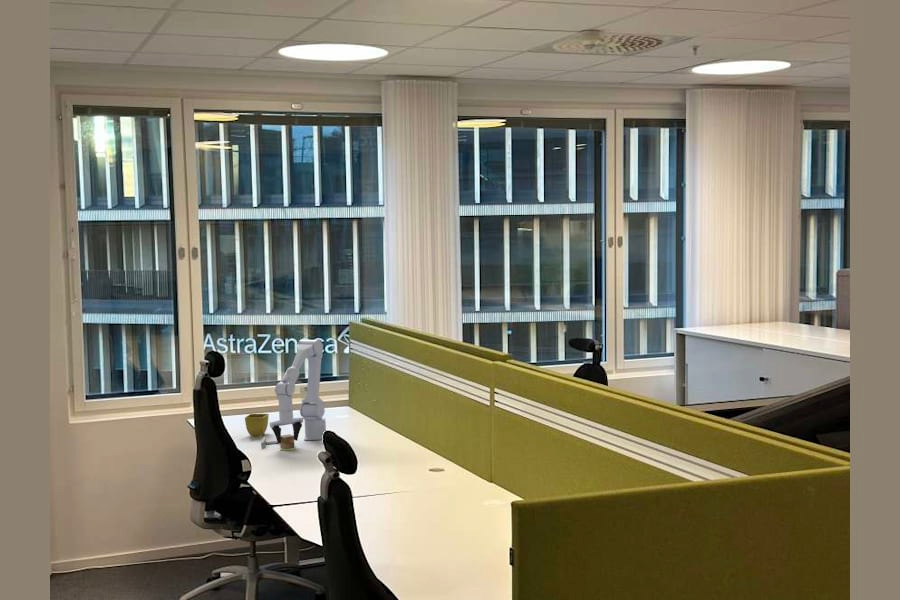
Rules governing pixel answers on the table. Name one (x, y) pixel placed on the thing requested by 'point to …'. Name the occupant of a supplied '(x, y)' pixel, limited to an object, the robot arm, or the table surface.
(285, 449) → the coaster
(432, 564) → the table surface
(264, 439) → the goalpost shaped bracket
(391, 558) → the table surface
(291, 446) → the block
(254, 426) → the flower pot
